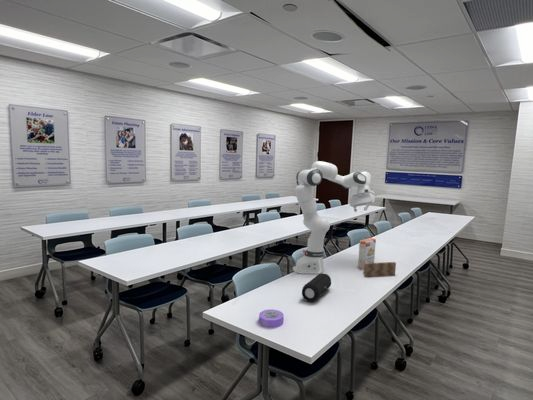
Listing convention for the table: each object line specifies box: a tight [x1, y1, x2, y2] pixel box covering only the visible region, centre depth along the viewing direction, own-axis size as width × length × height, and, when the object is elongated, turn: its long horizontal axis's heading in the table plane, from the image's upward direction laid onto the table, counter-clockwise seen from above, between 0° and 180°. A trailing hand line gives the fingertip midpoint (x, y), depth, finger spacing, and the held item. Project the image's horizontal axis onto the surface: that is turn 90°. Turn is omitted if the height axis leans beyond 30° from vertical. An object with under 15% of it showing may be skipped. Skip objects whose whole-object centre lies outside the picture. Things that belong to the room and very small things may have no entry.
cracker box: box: [357, 237, 377, 270], centre depth 249 cm, size 14×6×21 cm, turn 135°
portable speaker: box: [301, 272, 332, 302], centre depth 196 cm, size 26×10×10 cm, turn 151°
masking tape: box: [258, 308, 285, 329], centre depth 162 cm, size 12×12×4 cm
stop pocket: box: [362, 261, 397, 278], centre depth 233 cm, size 22×7×9 cm, turn 101°
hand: (360, 210), depth 244 cm, fingers open, 8 cm apart
